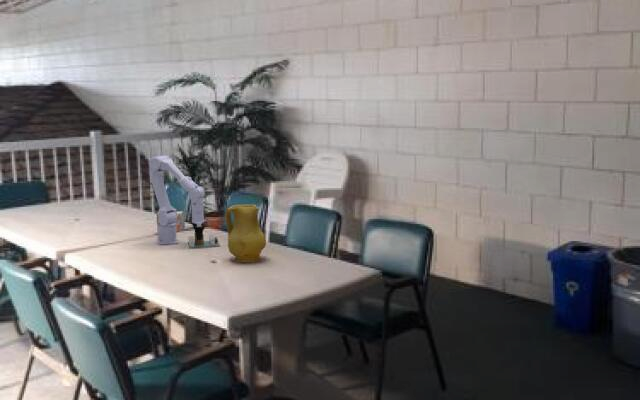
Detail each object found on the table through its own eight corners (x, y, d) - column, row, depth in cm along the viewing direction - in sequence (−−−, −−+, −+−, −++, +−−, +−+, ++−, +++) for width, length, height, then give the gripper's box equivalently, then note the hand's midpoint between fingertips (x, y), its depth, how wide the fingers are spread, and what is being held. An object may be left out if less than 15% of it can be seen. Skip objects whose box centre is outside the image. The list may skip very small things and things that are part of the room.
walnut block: (195, 245, 322) (195, 235, 321) (194, 243, 326) (194, 233, 326) (203, 244, 323) (203, 234, 322) (202, 242, 327) (202, 232, 327)
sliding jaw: (210, 245, 321) (210, 239, 321) (209, 240, 331) (208, 235, 330) (218, 244, 322) (218, 238, 322) (216, 240, 332) (216, 234, 331)
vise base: (189, 248, 318) (189, 241, 317) (188, 243, 329) (187, 236, 329) (220, 246, 321) (220, 239, 321) (217, 241, 333) (217, 234, 332)
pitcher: (235, 265, 284) (235, 208, 281) (221, 258, 300) (220, 204, 298) (272, 261, 292) (271, 206, 289) (256, 255, 308) (255, 202, 306)
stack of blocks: (174, 227, 370) (173, 205, 368) (185, 227, 369) (184, 206, 367) (157, 235, 349) (156, 212, 347) (168, 235, 348) (167, 212, 346)
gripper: (207, 213, 316) (208, 241, 318) (204, 208, 330) (205, 234, 332) (192, 214, 314) (193, 241, 316) (190, 209, 328) (191, 235, 330)
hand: (198, 238), depth 324 cm, fingers open, 7 cm apart
